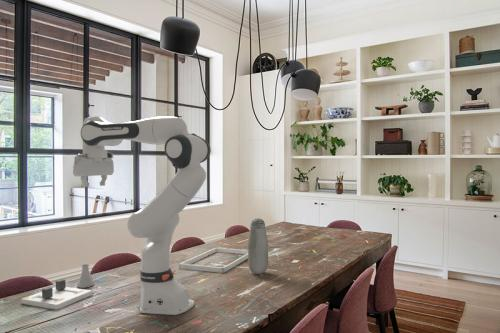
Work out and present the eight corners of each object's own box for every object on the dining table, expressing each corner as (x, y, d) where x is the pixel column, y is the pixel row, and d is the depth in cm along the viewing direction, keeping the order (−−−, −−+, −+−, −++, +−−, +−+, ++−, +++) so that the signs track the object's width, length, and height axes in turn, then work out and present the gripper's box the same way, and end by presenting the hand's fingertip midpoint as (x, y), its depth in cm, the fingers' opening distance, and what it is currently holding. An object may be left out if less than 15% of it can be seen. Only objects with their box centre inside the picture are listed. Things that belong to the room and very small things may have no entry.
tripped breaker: (52, 296, 159) (52, 287, 158) (46, 299, 156) (46, 289, 156) (48, 295, 159) (48, 286, 159) (42, 298, 157) (41, 289, 157)
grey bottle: (267, 276, 189) (265, 220, 188) (246, 276, 191) (245, 220, 191) (270, 271, 198) (268, 217, 198) (250, 270, 200) (249, 217, 200)
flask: (89, 282, 185) (88, 262, 185) (96, 285, 180) (96, 264, 180) (74, 286, 179) (73, 265, 179) (81, 289, 175) (81, 267, 175)
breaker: (65, 288, 169) (65, 279, 169) (59, 290, 167) (59, 281, 166) (61, 287, 170) (61, 279, 170) (55, 289, 167) (55, 281, 167)
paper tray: (254, 254, 235) (254, 250, 235) (223, 273, 197) (223, 268, 197) (215, 251, 246) (215, 247, 246) (178, 268, 207) (178, 263, 207)
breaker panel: (92, 295, 167) (91, 290, 167) (56, 309, 150) (56, 304, 150) (58, 290, 174) (58, 285, 174) (21, 303, 158) (21, 298, 158)
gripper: (80, 153, 154) (81, 187, 154) (115, 154, 173) (116, 185, 173) (68, 154, 157) (69, 187, 157) (104, 154, 176) (105, 184, 176)
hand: (94, 186), depth 165 cm, fingers open, 8 cm apart
